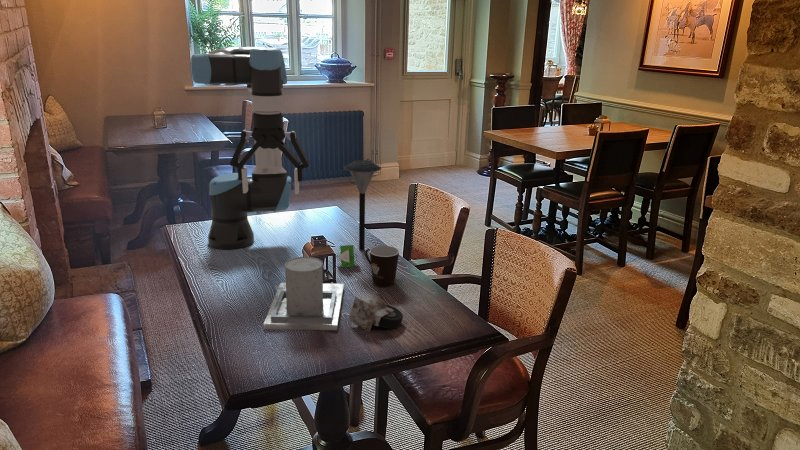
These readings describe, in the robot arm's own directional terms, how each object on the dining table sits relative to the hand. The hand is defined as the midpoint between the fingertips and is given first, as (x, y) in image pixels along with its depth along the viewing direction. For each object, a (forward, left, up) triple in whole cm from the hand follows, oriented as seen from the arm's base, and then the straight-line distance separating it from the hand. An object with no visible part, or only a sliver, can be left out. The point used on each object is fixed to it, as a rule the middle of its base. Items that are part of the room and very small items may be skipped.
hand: (271, 192), depth 152 cm
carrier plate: (+10, +10, -29) cm, 32 cm away
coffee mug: (-8, +30, -29) cm, 42 cm away
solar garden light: (-33, +23, -29) cm, 50 cm away
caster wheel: (+18, +29, -29) cm, 45 cm away
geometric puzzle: (-19, +19, -29) cm, 39 cm away
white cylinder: (+13, +10, -27) cm, 32 cm away
